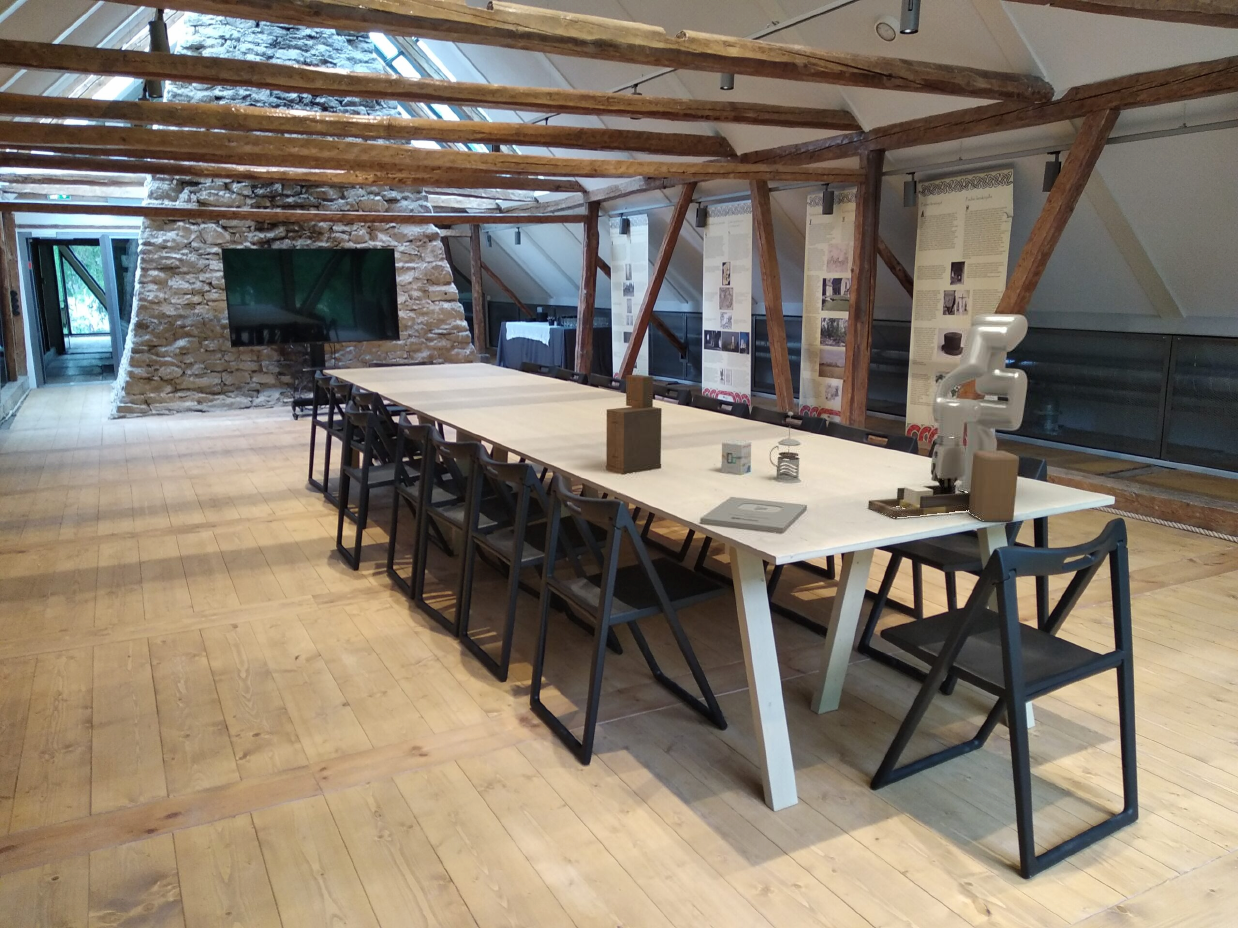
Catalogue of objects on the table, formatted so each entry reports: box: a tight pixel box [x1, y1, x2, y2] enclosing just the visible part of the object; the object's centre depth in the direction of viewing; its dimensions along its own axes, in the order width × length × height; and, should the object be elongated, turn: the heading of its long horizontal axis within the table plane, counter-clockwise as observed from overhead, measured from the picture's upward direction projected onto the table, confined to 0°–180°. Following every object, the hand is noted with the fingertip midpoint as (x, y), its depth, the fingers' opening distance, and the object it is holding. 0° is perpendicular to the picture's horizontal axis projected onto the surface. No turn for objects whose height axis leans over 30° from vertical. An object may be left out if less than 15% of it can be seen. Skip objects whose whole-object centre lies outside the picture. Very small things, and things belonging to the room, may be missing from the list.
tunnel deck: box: [867, 484, 970, 518], centre depth 270 cm, size 14×35×6 cm, turn 108°
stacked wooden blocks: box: [605, 374, 662, 475], centre depth 328 cm, size 19×14×35 cm
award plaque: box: [699, 496, 808, 534], centre depth 261 cm, size 25×30×2 cm
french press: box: [769, 411, 802, 484], centre depth 310 cm, size 10×12×25 cm
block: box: [969, 450, 1020, 522], centre depth 259 cm, size 10×10×20 cm
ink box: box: [720, 439, 752, 476], centre depth 324 cm, size 8×8×12 cm
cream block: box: [904, 485, 933, 505], centre depth 268 cm, size 6×6×4 cm
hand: (945, 498), depth 272 cm, fingers closed
